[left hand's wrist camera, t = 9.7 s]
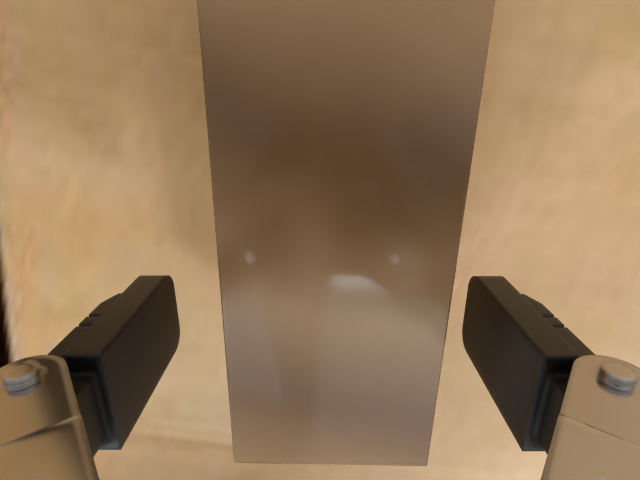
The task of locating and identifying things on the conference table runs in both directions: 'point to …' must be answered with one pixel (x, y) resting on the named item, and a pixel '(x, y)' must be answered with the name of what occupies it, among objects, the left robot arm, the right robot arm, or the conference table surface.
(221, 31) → the cabinet
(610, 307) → the conference table surface
